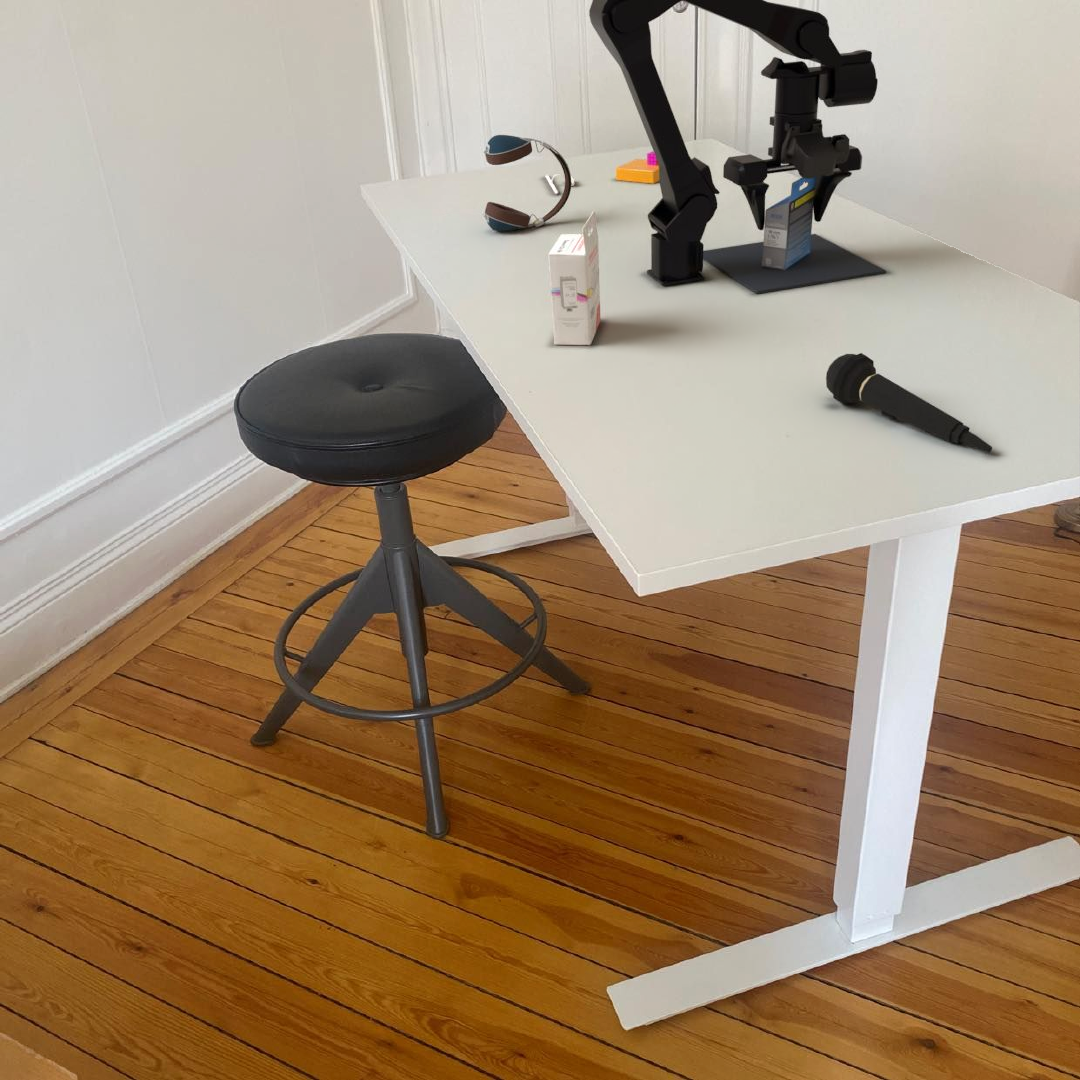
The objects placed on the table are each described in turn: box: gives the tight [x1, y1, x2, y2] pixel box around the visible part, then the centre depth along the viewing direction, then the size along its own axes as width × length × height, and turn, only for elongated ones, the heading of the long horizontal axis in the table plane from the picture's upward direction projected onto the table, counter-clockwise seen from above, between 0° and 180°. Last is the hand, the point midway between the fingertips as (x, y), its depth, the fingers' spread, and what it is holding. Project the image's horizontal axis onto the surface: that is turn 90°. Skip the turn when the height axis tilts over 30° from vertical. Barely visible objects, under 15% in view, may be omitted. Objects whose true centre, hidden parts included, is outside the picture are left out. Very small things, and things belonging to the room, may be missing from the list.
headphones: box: [483, 134, 572, 232], centre depth 181 cm, size 6×15×22 cm
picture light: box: [545, 173, 575, 195], centre depth 208 cm, size 14×4×2 cm, turn 8°
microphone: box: [825, 352, 993, 454], centre depth 115 cm, size 6×6×20 cm
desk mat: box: [703, 233, 887, 295], centre depth 162 cm, size 20×20×1 cm
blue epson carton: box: [762, 176, 817, 270], centre depth 159 cm, size 9×4×12 cm, turn 145°
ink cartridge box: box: [547, 210, 601, 346], centre depth 139 cm, size 9×5×15 cm, turn 168°
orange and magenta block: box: [615, 151, 660, 185], centre depth 209 cm, size 8×8×4 cm
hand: (789, 225), depth 159 cm, fingers closed on blue epson carton, 9 cm apart
